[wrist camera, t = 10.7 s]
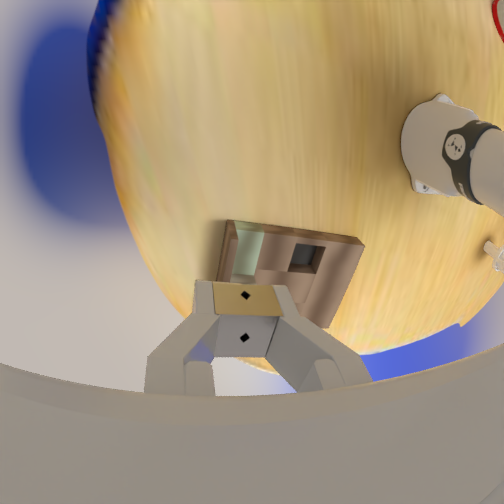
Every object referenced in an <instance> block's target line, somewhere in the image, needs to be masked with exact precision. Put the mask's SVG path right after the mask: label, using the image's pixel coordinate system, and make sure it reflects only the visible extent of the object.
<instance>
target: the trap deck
mask: <svg viewBox="0 0 504 504" xmlns="http://www.w3.org/2000/svg"><path fill="white" fill-rule="evenodd" d="M364 248H365V245H364V244H363V243H362V242H361V241H360V240H359V239H358V238H357V237H351V236H344V235H337V234H331V233H324V232H317V231H310V230H303V229H296V228H289V227H281V226H274V225H266V224H258V223H250V222H242V221H234V220H227V223H226V229H225V234H224V240H223V245H222V251H221V257H220V262H219V268H218V274H217V280H216V282H228V283H230V280H231V275H232V274H244V275H254V277H255V281H256V284H257V285H285V286H287V288H288V290H289V292H290V294H291V297H292V299H293V301H294V303H295V306H296V308H297V310H298V312H299V315H300V317H306V318H307V319H308V320H310V321H311V322H313V323H314V324H315V325H317V326H318V327H320V328H329V326H330V324H331V322H332V320H333V318H334V316H335V314H336V311H337V309H338V307H339V305H340V303H341V301H342V299H343V296H344V294H345V292H346V290H347V288H348V285H349V283H350V281H351V279H352V276H353V274H354V272H355V269H356V267H357V265H358V262H359V260H360V257H361V255H362V252H363V250H364Z"/></svg>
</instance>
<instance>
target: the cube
mask: <svg viewBox="0 0 504 504" xmlns="http://www.w3.org/2000/svg"><path fill="white" fill-rule="evenodd" d="M230 283H239V284H251V285H257V284H256V281H255V277H254V275H244V274H232V275H231V280H230Z"/></svg>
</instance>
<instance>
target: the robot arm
mask: <svg viewBox="0 0 504 504" xmlns="http://www.w3.org/2000/svg"><path fill="white" fill-rule="evenodd" d="M401 151H402V156H403V160H404V163H405V165H406V167H407V169H408V171H409V173H410V175H411V180H412V187H413V190H414V191H415V192H418V193H426V194H441V195H444V196H446V197H450V196H464V197H466V198H467V199H468V200H470V201H472V202H474V203H477V204H480V205H485V206H487V207H489V208H490V209H492V210H493V211H495V212H496V213H498V214H500V215H501V216H503V217H504V131H502V130H501V129H500V128H499V127H497V126H495V125H492V124H491V123H488V122H485V121H480V120H479V119H478V116H477V115H476V114H474V112H473V111H472V110H471V109H468V108H465V107H462V106H458V105H455V104H454V103H453V101H452V100H451V99H450V98H449V97H448V96H447V95H445V94H442V93H440V94H438V95H437V96H436V97H435V98H434V99H433V100H431V101H429V102H425V103H422V104H420V105H418V106H416V107H415V108H414V109H413V110H412V111H411V113H410V114H409V115H408V117H407V119H406V121H405V124H404V127H403V130H402V136H401ZM423 186H424V187H423ZM214 357H266V358H265V359H266V360H267V361H268V362H269V363H270V364H271V365H272V366H273V367H274V369H275V370H276V371H277V372H278V373H279V374H280V375H281V376H282V377H283V378H284V379H285V380H286V381H287V382H288V383H289V384H290V385H291V386H292V387H293V388H294V389H295V390H296V391H297V393H290V394H276V395H257V396H215V387H214V379H213V370H212V365H210V364H211V362H212V360H213V359H214ZM0 504H504V343H503V344H501V345H498V346H496V347H493V348H491V349H488V350H486V351H483V352H481V353H477V354H475V355H472V356H469V357H466V358H463V359H460V360H457V361H454V362H451V363H448V364H444V365H441V366H437V367H434V368H430V369H427V370H423V371H419V372H415V373H412V374H408V375H403V376H399V377H394V378H390V379H385V380H381V381H376V382H373V380H372V378H371V376H370V375H369V373H368V371H367V369H366V367H365V365H364V363H363V361H362V359H361V358H360V356H359V355H358V354H357V353H356V352H354V351H353V350H351V349H350V348H348V347H347V346H345V345H344V344H343V343H341V342H340V341H338V340H337V339H335V338H334V337H333V336H331V335H330V334H328V333H327V332H325V331H324V330H323V329H321V328H320V327H318V326H317V325H315V324H314V323H313V322H311V321H310V320H308V319H307V318H306V317H300V315H299V312H298V310H297V308H296V306H295V303H294V301H293V299H292V297H291V294H290V292H289V290H288V288H287V286H285V285H251V284H239V283H228V282H216V281H212V282H211V281H204V280H196V281H195V288H194V298H193V309H192V313H191V314H190V315H189V316H188V317H187V318H186V319H185V320H184V321H183V322H182V323H181V324H180V325H179V326H178V327H177V328H176V329H175V330H174V331H173V332H172V333H171V334H170V335H169V336H168V337H167V338H166V339H165V340H164V341H163V342H162V343H161V344H160V345H159V346H158V347H157V348H156V349H155V350H154V351H153V352H152V353H151V354H150V355H149V356H148V358H147V367H146V377H145V387H144V393H143V392H134V391H125V390H117V389H110V388H103V387H97V386H91V385H86V384H80V383H74V382H70V381H65V380H61V379H56V378H52V377H47V376H43V375H39V374H36V373H32V372H28V371H25V370H21V369H17V368H14V367H11V366H8V365H4V364H2V363H0Z"/></svg>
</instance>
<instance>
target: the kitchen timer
mask: <svg viewBox="0 0 504 504" xmlns="http://www.w3.org/2000/svg"><path fill="white" fill-rule="evenodd" d="M492 13H493V18H494V22H495V25H496V28H497V30H498V33H499V35H500V37H501V39H502V41H503V42H504V0H495V1H494V2H493V4H492Z"/></svg>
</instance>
